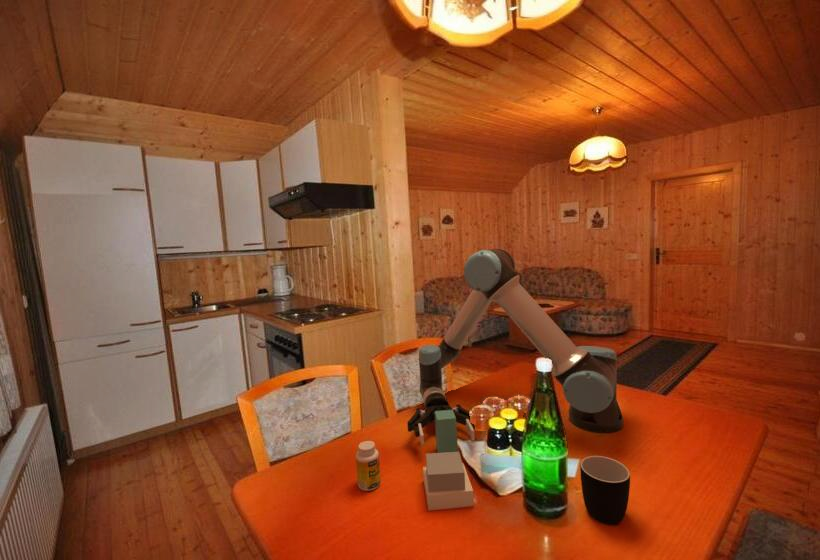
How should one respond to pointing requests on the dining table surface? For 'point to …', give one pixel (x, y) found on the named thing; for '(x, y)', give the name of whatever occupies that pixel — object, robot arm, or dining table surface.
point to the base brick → (449, 495)
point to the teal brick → (446, 431)
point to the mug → (605, 489)
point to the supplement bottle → (368, 466)
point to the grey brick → (445, 471)
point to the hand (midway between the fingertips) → (447, 437)
